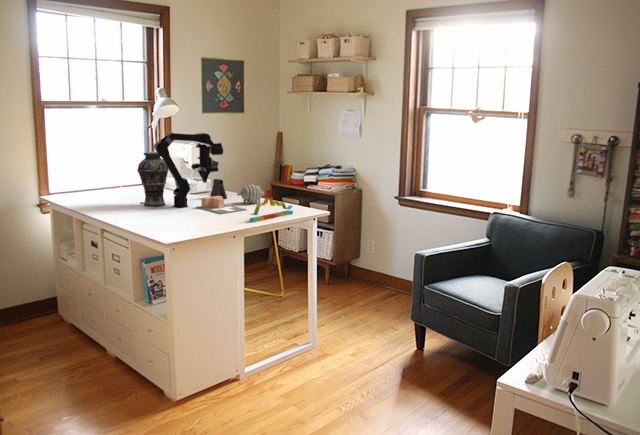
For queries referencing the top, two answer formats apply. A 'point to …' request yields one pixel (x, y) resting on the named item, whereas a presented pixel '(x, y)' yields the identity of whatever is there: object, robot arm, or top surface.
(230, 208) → the mat
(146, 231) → the top surface
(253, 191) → the toy sheep
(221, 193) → the phone stand
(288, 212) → the multicoloured triangular frame
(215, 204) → the t block
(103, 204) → the top surface
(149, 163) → the vase
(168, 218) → the top surface
